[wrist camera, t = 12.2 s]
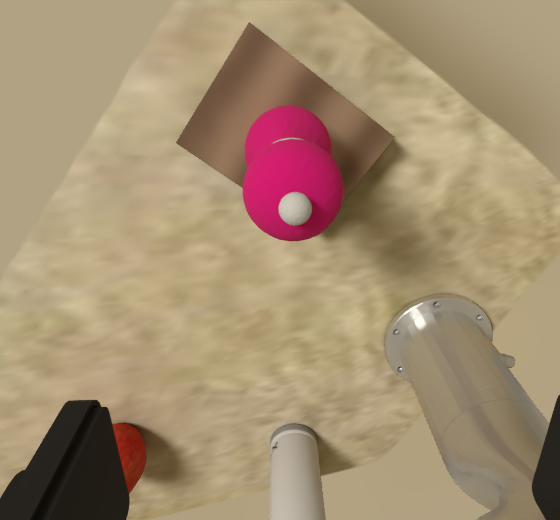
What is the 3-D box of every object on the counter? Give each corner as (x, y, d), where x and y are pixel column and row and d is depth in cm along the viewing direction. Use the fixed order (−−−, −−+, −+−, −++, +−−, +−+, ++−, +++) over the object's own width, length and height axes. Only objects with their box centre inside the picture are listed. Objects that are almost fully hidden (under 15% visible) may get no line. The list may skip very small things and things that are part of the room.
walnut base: (387, 131, 44) (394, 137, 41) (312, 225, 48) (315, 236, 45) (250, 23, 40) (249, 22, 37) (182, 137, 44) (175, 142, 41)
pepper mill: (277, 82, 39) (278, 111, 21) (342, 131, 41) (395, 197, 23) (232, 151, 42) (199, 231, 23) (295, 194, 43) (310, 299, 25)
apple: (83, 413, 59) (46, 485, 49) (147, 409, 58) (121, 481, 49) (98, 458, 62) (66, 534, 52) (158, 455, 62) (136, 530, 52)
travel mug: (260, 431, 60) (255, 595, 42) (307, 417, 59) (322, 578, 41) (278, 462, 63) (280, 629, 45) (322, 449, 62) (343, 614, 44)
